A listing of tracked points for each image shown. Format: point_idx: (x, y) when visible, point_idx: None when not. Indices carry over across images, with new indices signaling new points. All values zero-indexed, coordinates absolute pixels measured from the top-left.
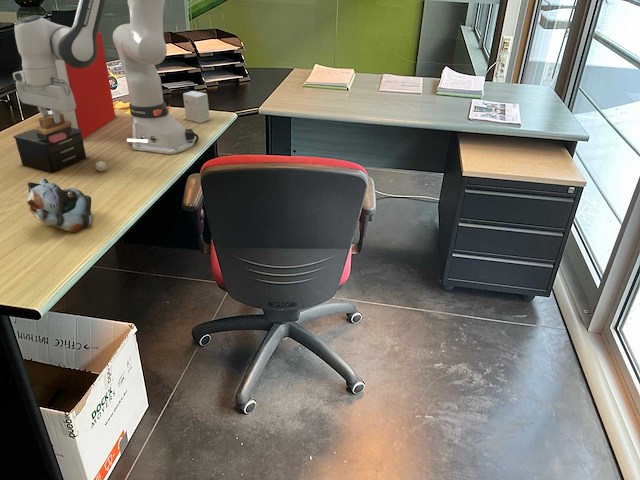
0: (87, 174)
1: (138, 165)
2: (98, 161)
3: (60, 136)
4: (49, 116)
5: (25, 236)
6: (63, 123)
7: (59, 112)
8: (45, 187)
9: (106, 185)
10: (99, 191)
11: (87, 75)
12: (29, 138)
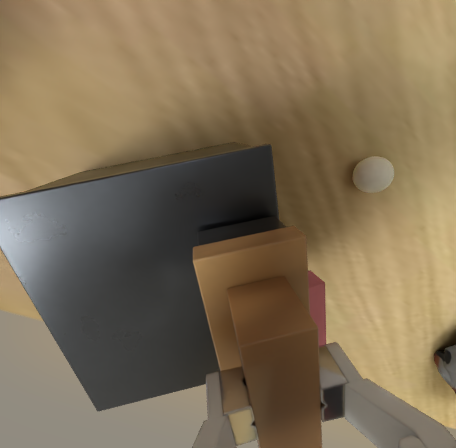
0: (343, 216)
1: (441, 49)
2: (378, 180)
3: (324, 312)
4: (286, 422)
5: (435, 400)
6: (295, 291)
7: (428, 430)
8: None
9: (438, 222)
10: (443, 252)
11: None
12: (187, 380)
